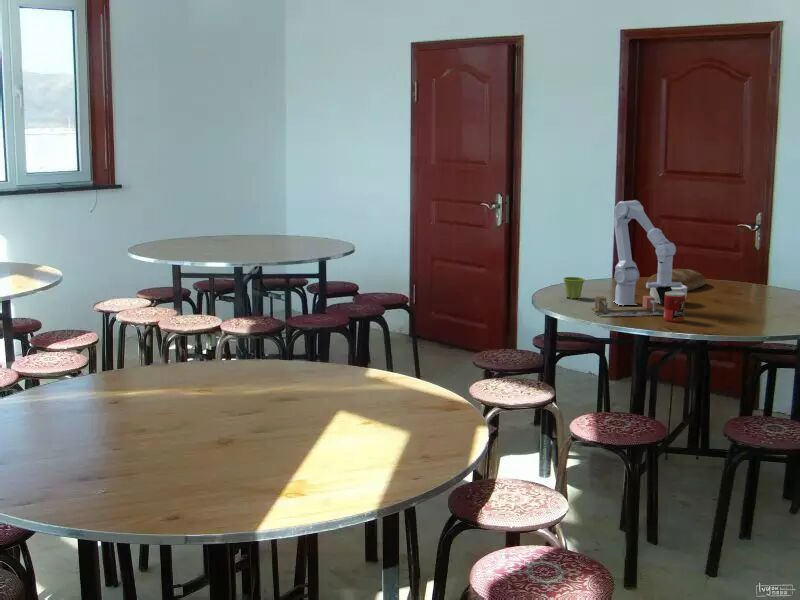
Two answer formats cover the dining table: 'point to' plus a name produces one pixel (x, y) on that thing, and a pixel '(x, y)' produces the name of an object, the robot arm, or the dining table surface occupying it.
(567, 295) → the plant pot
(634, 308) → the gauge beam
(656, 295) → the paper bowls
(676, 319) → the canned food
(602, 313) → the hole plate
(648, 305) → the sliding leg
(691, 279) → the bread
